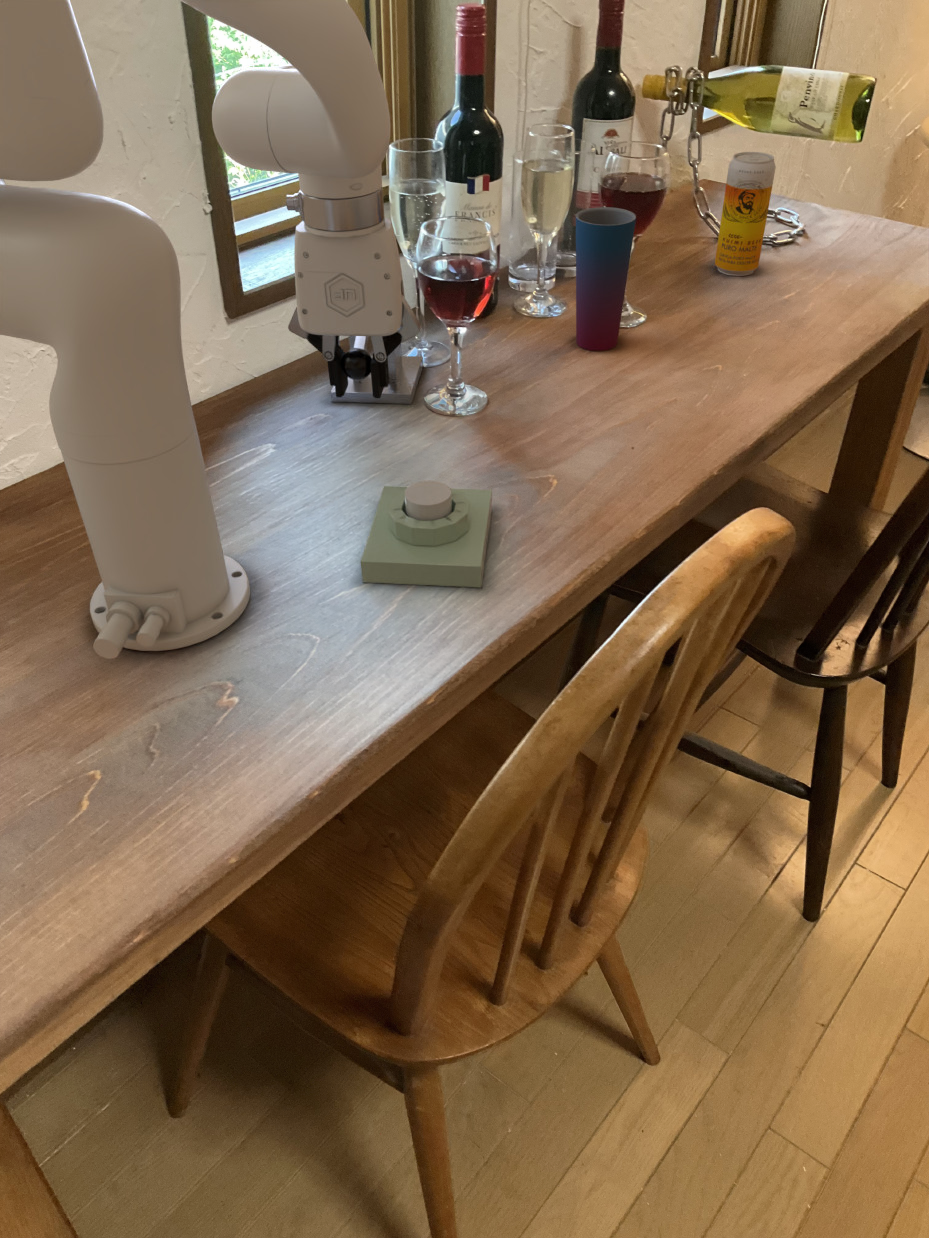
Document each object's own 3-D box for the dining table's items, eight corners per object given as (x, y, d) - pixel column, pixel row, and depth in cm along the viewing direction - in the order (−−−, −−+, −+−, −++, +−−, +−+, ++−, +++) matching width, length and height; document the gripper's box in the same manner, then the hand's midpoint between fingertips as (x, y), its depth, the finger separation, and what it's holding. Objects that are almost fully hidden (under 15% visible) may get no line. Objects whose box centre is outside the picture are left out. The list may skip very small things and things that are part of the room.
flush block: (481, 588, 80) (480, 548, 77) (362, 582, 80) (358, 543, 78) (492, 510, 89) (492, 472, 86) (385, 506, 90) (382, 468, 87)
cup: (627, 354, 115) (639, 224, 106) (570, 354, 116) (577, 225, 106) (621, 331, 121) (632, 206, 111) (567, 332, 121) (573, 207, 111)
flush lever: (372, 387, 98) (368, 364, 96) (342, 386, 99) (336, 364, 96) (389, 291, 105) (385, 267, 102) (360, 290, 106) (356, 267, 103)
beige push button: (449, 523, 81) (448, 505, 80) (402, 521, 81) (401, 504, 80) (454, 498, 84) (453, 481, 83) (409, 496, 84) (407, 479, 83)
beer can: (714, 276, 135) (731, 162, 126) (713, 262, 140) (729, 150, 131) (758, 278, 135) (779, 163, 125) (755, 263, 139) (775, 151, 130)
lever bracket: (411, 404, 106) (405, 289, 98) (331, 401, 107) (318, 287, 99) (423, 366, 114) (418, 256, 106) (348, 364, 114) (337, 255, 106)
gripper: (245, 220, 87) (274, 406, 98) (426, 222, 85) (434, 411, 97) (266, 196, 92) (292, 374, 104) (436, 197, 91) (442, 378, 103)
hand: (360, 390), depth 100 cm, fingers closed on flush lever, 3 cm apart
